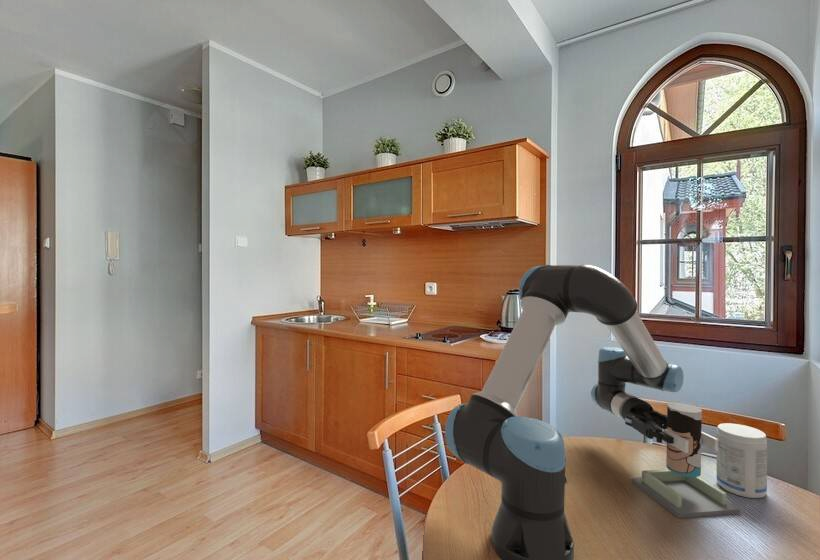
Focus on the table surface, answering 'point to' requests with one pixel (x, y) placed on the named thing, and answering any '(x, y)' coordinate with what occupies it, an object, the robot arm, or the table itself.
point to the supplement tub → (742, 460)
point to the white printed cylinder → (687, 426)
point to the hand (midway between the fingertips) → (701, 446)
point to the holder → (685, 494)
